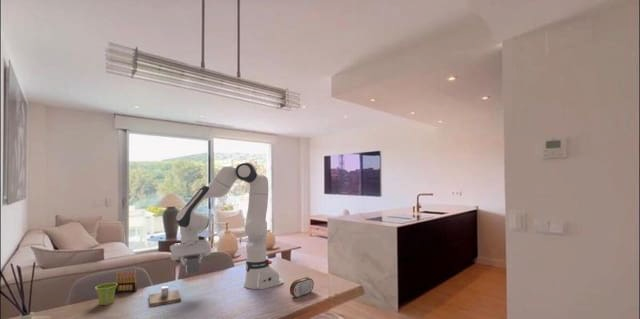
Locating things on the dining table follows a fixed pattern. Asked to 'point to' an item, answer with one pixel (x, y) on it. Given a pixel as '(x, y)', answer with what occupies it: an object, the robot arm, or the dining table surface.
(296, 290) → the tin
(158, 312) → the dining table surface
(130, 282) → the brown slatted box
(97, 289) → the plant pot
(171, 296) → the base plate
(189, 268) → the grey square block
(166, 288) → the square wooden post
